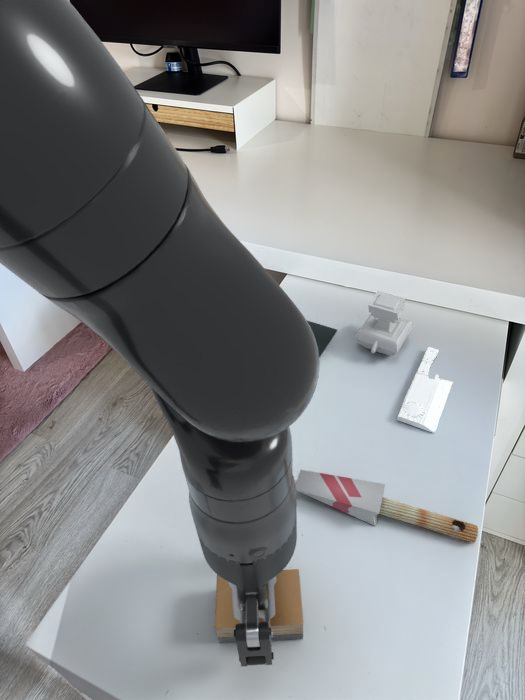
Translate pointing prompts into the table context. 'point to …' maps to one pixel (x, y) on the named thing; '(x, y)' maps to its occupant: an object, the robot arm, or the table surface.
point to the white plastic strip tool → (425, 396)
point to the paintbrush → (376, 503)
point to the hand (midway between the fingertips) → (257, 595)
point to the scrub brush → (283, 623)
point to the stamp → (384, 325)
